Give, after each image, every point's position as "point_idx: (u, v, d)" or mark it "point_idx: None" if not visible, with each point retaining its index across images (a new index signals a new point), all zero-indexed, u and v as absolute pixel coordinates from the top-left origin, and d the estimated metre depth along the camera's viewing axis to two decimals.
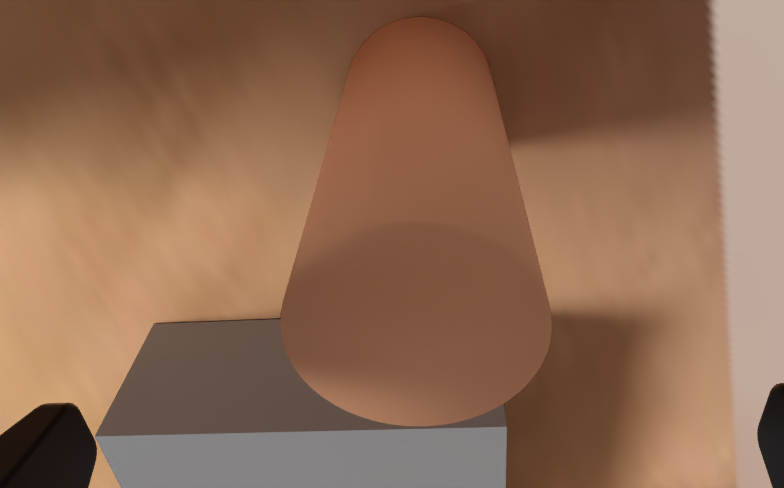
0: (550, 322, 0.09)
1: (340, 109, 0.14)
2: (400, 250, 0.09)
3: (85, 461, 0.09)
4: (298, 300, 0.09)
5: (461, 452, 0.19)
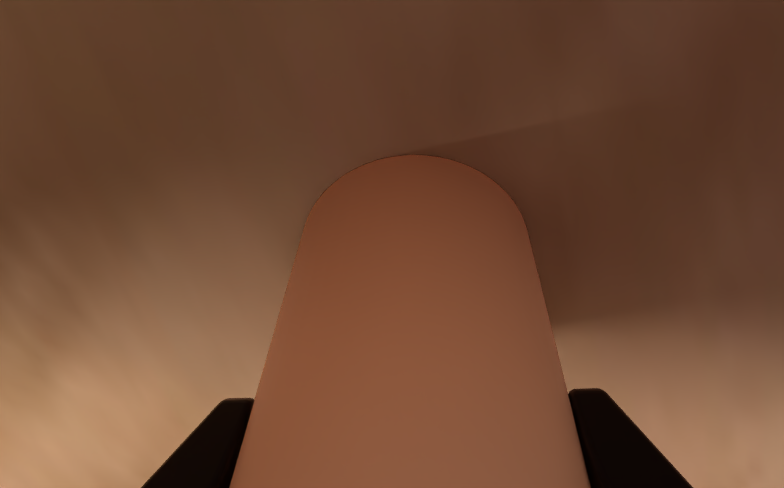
0: None
1: (267, 371, 0.08)
2: None
3: None
4: None
5: None
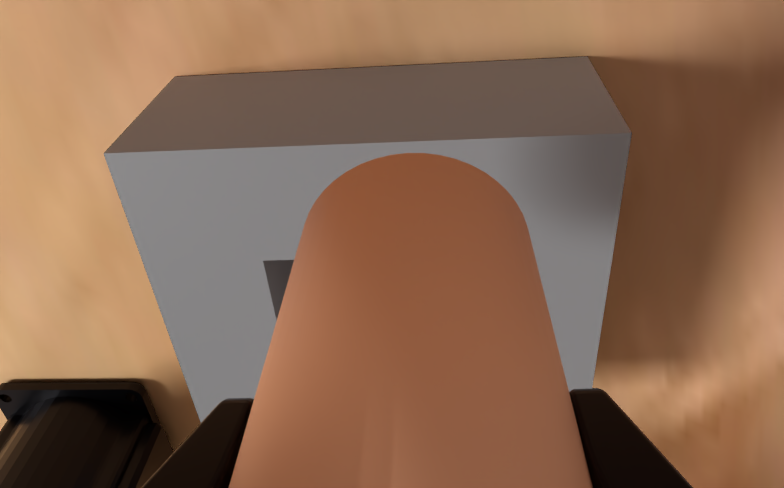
0: None
1: (267, 370, 0.08)
2: None
3: None
4: None
5: (567, 177, 0.15)
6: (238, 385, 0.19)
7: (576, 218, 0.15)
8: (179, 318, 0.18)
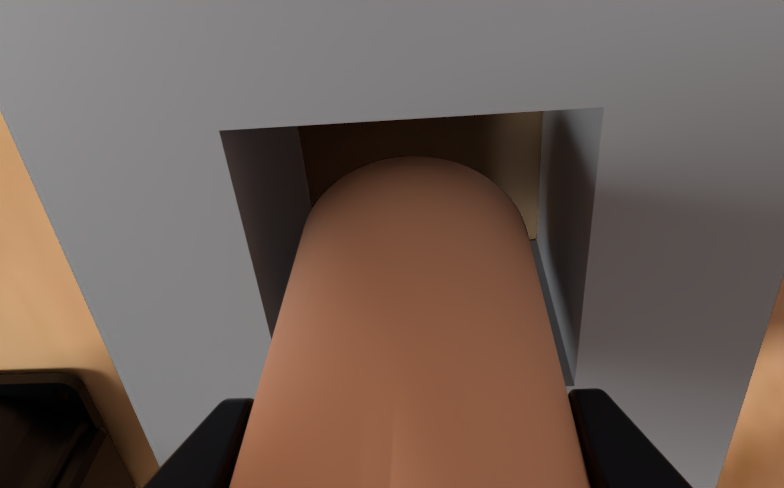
0: None
1: (266, 374, 0.08)
2: None
3: None
4: None
5: None
6: (192, 359, 0.12)
7: None
8: (87, 245, 0.11)
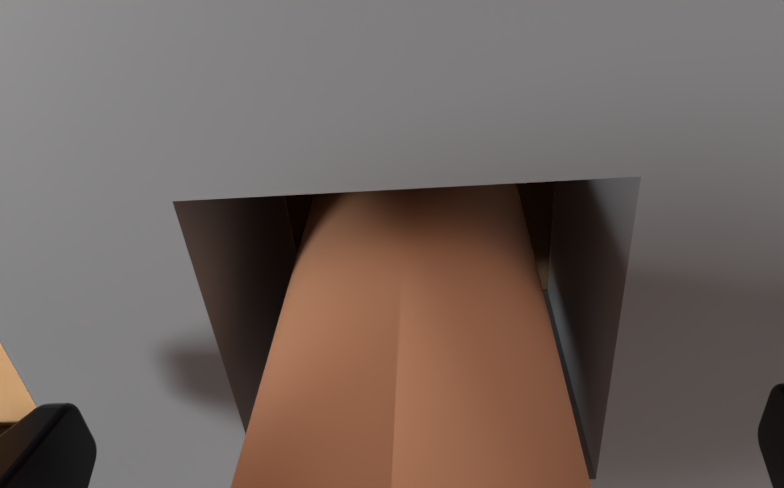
0: None
1: (301, 253, 0.10)
2: None
3: (85, 461, 0.09)
4: None
5: None
6: (153, 449, 0.11)
7: None
8: (23, 327, 0.09)
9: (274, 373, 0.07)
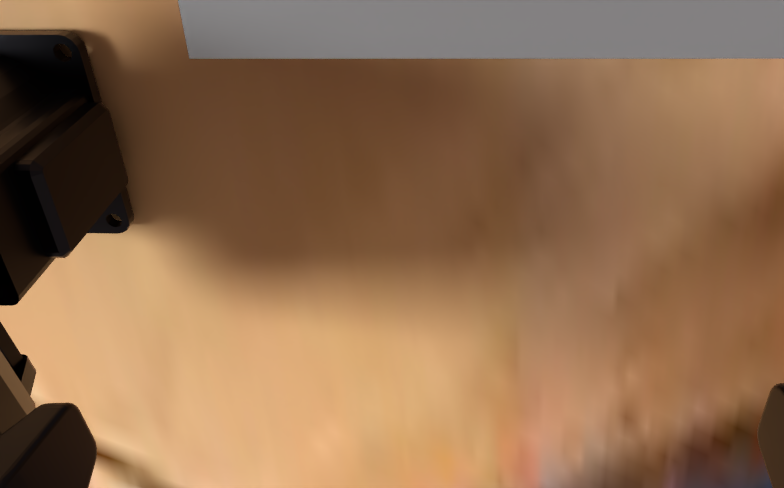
0: None
1: None
2: None
3: (85, 461, 0.09)
4: None
5: None
6: None
7: None
8: None
9: None
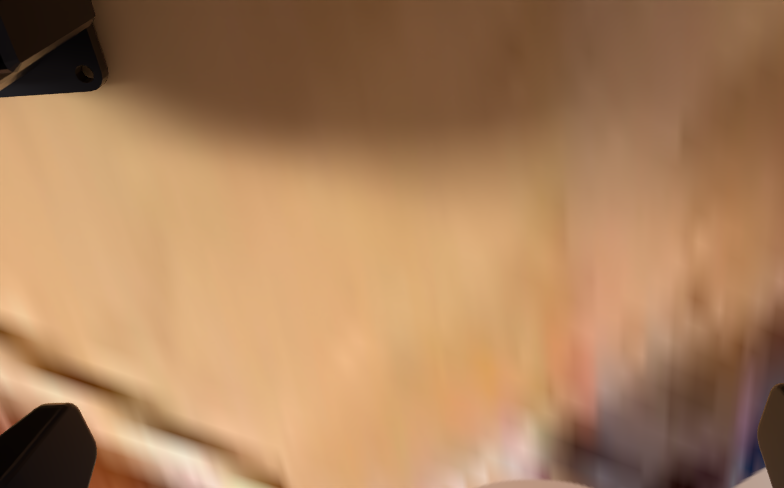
0: None
1: None
2: None
3: (85, 461, 0.09)
4: None
5: None
6: None
7: None
8: None
9: None
